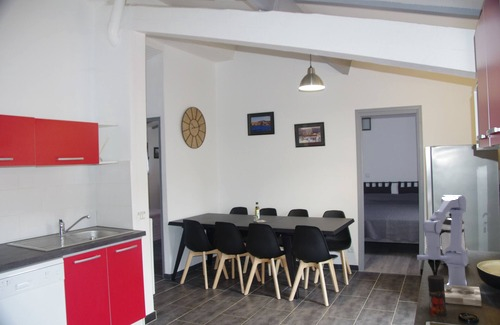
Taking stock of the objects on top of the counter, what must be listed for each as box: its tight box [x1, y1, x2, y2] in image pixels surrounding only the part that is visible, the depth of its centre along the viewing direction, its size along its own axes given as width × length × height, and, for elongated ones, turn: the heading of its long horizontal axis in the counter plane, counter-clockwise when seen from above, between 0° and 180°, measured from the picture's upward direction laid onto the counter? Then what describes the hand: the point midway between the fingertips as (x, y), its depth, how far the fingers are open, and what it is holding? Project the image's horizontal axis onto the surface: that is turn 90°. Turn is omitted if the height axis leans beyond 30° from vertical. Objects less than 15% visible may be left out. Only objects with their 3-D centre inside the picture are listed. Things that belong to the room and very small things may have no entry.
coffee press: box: [439, 212, 470, 266], centre depth 230 cm, size 17×16×30 cm
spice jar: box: [427, 274, 447, 318], centre depth 162 cm, size 6×6×15 cm
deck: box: [444, 284, 482, 307], centre depth 178 cm, size 18×17×2 cm
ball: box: [444, 283, 452, 291], centre depth 180 cm, size 3×3×3 cm
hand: (435, 276), depth 183 cm, fingers closed
